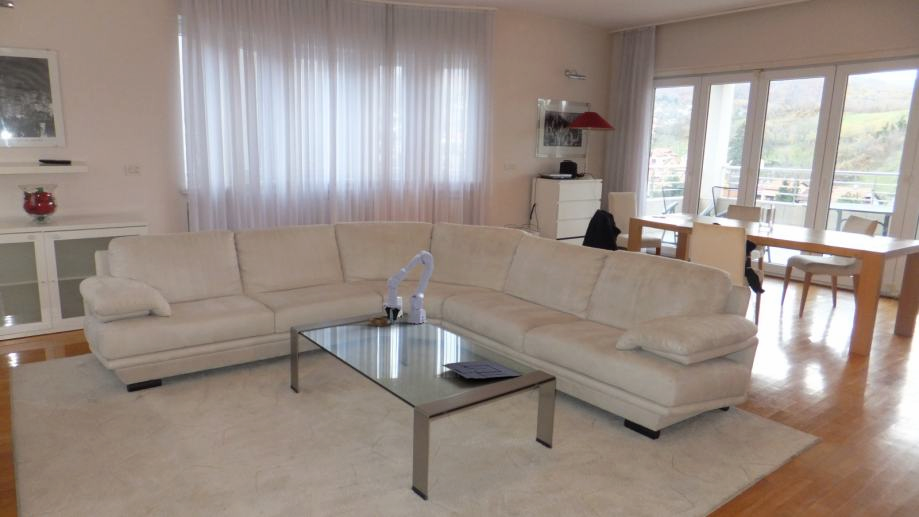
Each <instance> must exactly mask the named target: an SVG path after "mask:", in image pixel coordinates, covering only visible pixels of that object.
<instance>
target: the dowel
mask: <svg viewBox="0 0 919 517" xmlns="http://www.w3.org/2000/svg"><path fill="white" fill-rule="evenodd" d="M389 324H390V325H395V324H396V320H395V321H394V320H393V312H392V309H390V320H389Z"/></svg>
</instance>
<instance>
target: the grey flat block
mask: <svg viewBox="0 0 919 517" xmlns="http://www.w3.org/2000/svg"><path fill="white" fill-rule="evenodd" d="M441 366H443V367H444V368H446V369H448V370H451V371H453V372H455V373H457V374H459V375H460V376H462V377H464V378H465V379H489V378H500V377H516V376H521V374H520V373H518V372H515V371H513V370H511V369H508V368H505V367H503V366H501V365H499V364H497V363H496V362H493V361H491V360H486V361H485V360H482V361H481V360H477V361H473V360H472V361H456V362H451V363H446V364H441Z"/></svg>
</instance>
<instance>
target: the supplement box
mask: <svg viewBox="0 0 919 517" xmlns="http://www.w3.org/2000/svg"><path fill="white" fill-rule="evenodd" d="M386 303H388V297H386ZM397 305H400V306H403V296H397ZM393 309H394V308H393ZM401 315H402V316H403V310H400V312H399V314H398V316H397V319H399V318H401V317H400V316H401ZM398 317H399V318H398Z"/></svg>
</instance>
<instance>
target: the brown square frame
mask: <svg viewBox="0 0 919 517" xmlns="http://www.w3.org/2000/svg"><path fill="white" fill-rule="evenodd" d="M368 322H369V324H370V326H374V327H384V326H386V325H388V317H384V316H383V317H382V316H375V317H371V318H369V321H368Z"/></svg>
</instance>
